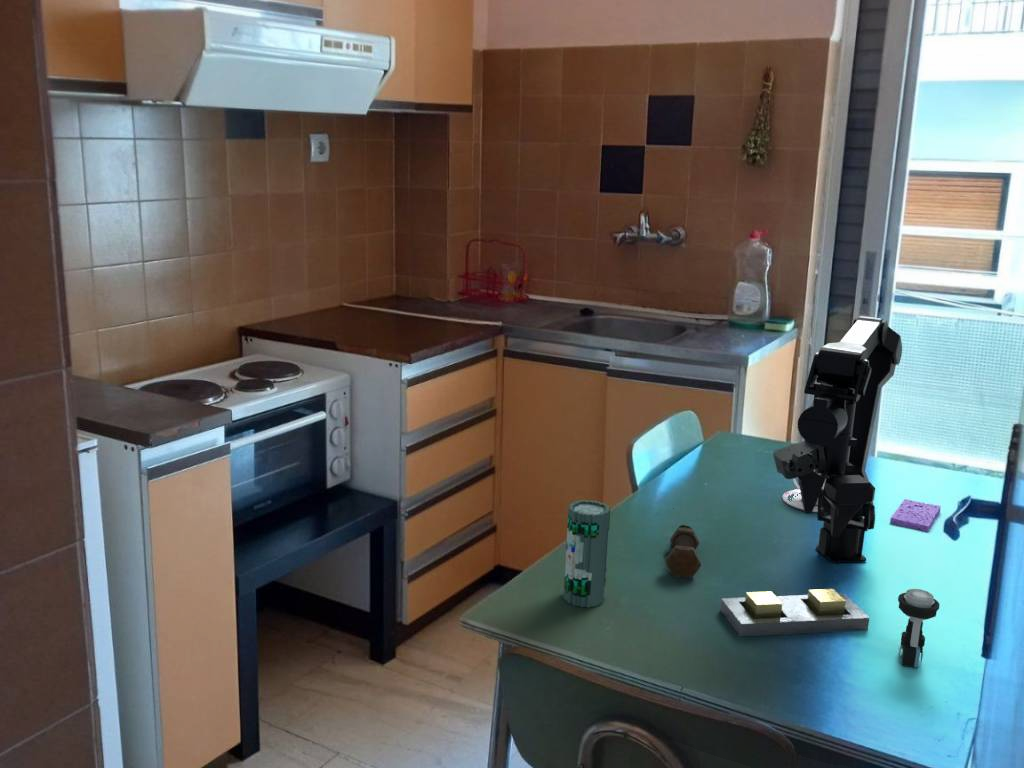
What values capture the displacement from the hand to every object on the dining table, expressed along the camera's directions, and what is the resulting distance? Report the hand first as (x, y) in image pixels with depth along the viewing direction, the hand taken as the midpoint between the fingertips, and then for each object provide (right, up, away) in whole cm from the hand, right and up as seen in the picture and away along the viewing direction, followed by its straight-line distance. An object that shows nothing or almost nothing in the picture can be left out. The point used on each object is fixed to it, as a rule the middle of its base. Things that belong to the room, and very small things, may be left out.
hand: (821, 524), depth 155 cm
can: (-37, -11, -1) cm, 39 cm away
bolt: (-19, -8, +15) cm, 25 cm away
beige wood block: (-11, -14, -7) cm, 19 cm away
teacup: (+12, -2, +44) cm, 45 cm away
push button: (+8, -17, -15) cm, 24 cm away
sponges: (+30, -5, +37) cm, 48 cm away
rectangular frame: (-6, -14, -6) cm, 16 cm away
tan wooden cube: (-1, -14, -5) cm, 15 cm away
